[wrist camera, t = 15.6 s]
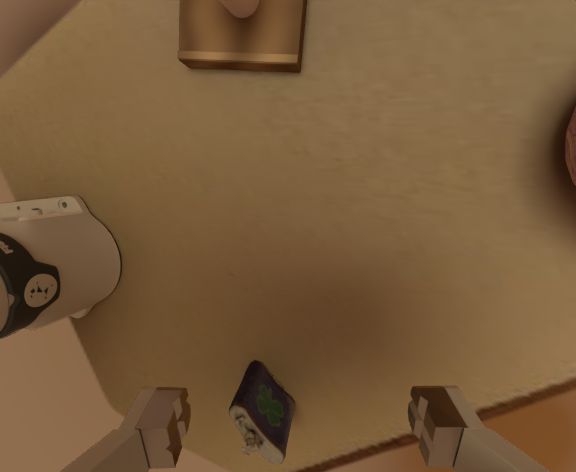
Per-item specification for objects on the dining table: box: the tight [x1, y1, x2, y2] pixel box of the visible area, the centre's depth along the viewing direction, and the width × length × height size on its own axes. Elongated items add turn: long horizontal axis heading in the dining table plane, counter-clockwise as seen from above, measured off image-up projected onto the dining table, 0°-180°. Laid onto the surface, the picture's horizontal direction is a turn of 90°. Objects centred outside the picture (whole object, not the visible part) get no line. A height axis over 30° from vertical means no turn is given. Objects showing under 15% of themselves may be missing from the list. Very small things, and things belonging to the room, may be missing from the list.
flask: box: [229, 360, 295, 464], centre depth 38 cm, size 9×3×11 cm, turn 40°
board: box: [178, 0, 307, 72], centre depth 34 cm, size 14×12×3 cm
